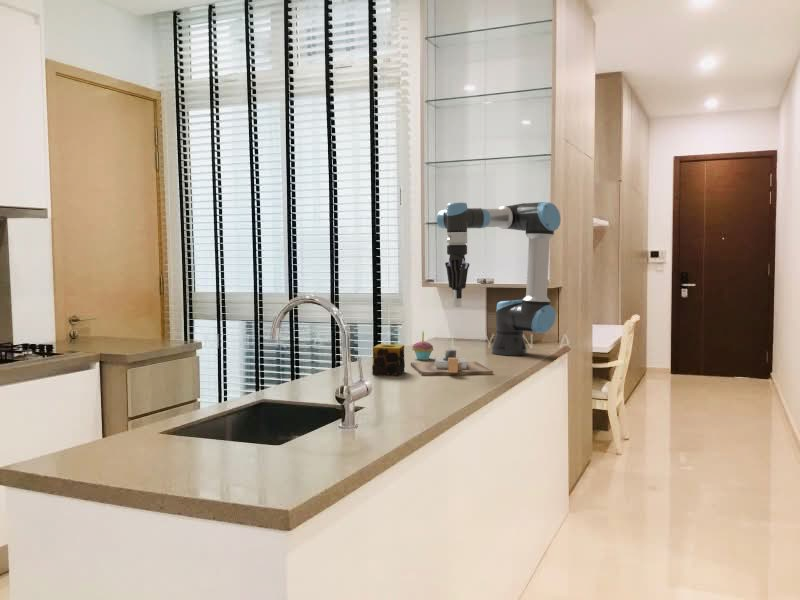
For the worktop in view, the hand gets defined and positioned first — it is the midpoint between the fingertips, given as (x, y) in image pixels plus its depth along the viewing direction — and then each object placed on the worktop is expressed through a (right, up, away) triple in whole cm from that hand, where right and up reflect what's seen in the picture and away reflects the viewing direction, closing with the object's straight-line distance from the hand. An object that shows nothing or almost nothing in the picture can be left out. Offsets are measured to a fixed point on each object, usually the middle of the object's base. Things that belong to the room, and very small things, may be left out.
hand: (457, 307), depth 273 cm
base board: (-3, -23, -3) cm, 24 cm away
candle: (-26, -24, -12) cm, 37 cm away
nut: (-3, -22, -8) cm, 24 cm away
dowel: (0, -23, -12) cm, 26 cm away
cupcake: (-12, -22, +22) cm, 34 cm away
